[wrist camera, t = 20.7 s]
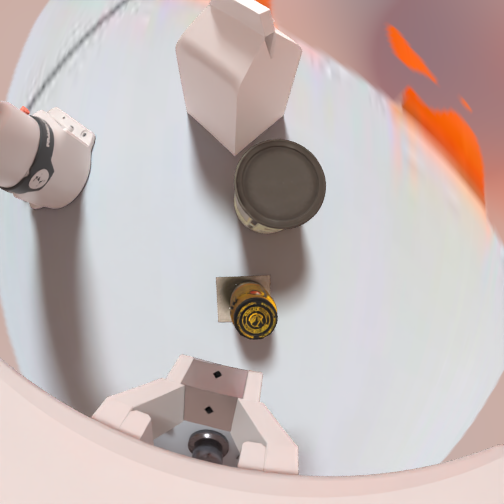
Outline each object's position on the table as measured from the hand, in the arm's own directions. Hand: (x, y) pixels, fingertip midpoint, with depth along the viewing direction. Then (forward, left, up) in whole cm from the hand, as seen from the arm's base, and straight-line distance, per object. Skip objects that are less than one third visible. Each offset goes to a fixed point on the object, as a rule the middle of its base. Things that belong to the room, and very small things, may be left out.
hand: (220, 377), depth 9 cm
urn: (+21, -25, -32) cm, 46 cm away
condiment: (+5, -1, -34) cm, 35 cm away
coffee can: (-4, +12, -34) cm, 37 cm away
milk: (-19, +19, -34) cm, 44 cm away
